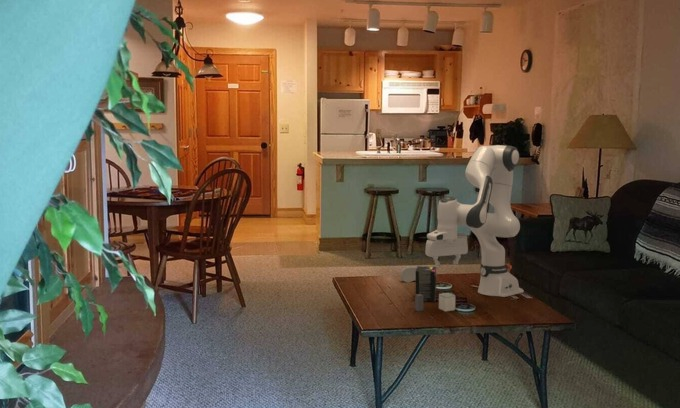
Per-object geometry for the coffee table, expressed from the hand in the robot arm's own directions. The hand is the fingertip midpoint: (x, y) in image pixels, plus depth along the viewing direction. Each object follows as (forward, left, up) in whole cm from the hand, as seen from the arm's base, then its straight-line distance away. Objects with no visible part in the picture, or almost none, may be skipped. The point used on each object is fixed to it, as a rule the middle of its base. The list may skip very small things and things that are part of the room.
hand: (446, 265), depth 274 cm
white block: (0, 0, -20) cm, 20 cm away
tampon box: (-1, -19, -20) cm, 28 cm away
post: (+12, -4, -20) cm, 23 cm away
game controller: (-16, -50, -20) cm, 56 cm away
